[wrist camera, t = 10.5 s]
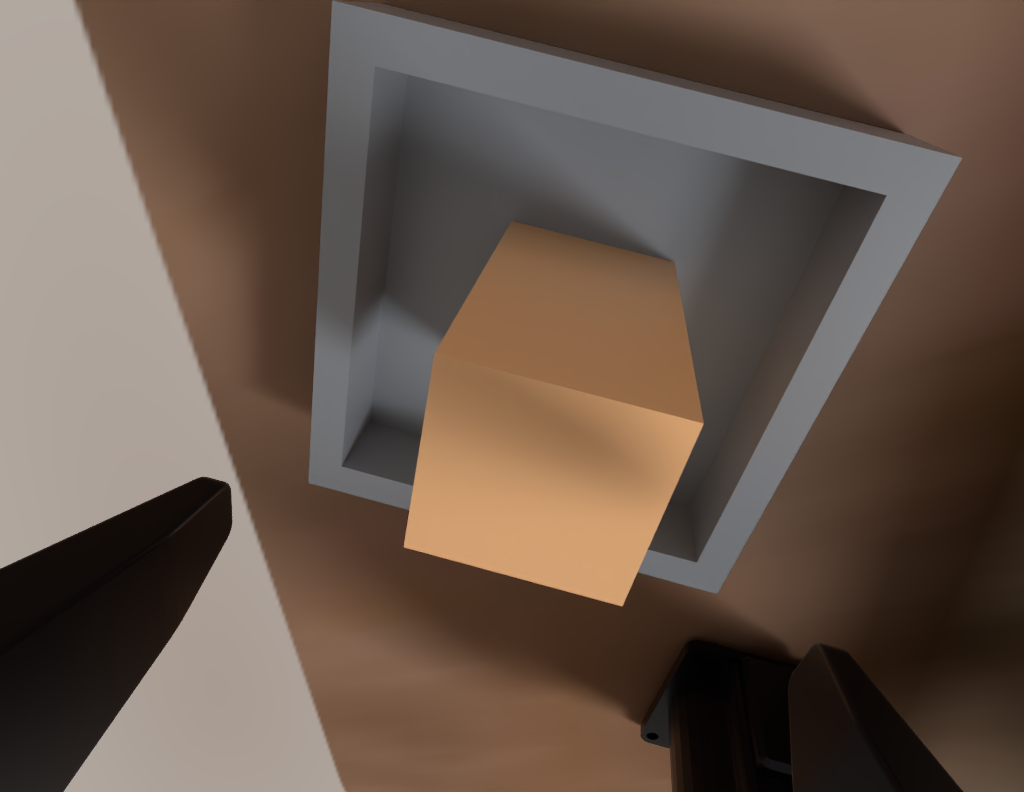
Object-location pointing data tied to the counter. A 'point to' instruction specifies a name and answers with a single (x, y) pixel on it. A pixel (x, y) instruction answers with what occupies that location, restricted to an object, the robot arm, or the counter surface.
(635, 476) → the plain tan block
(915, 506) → the counter surface
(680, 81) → the block holder
